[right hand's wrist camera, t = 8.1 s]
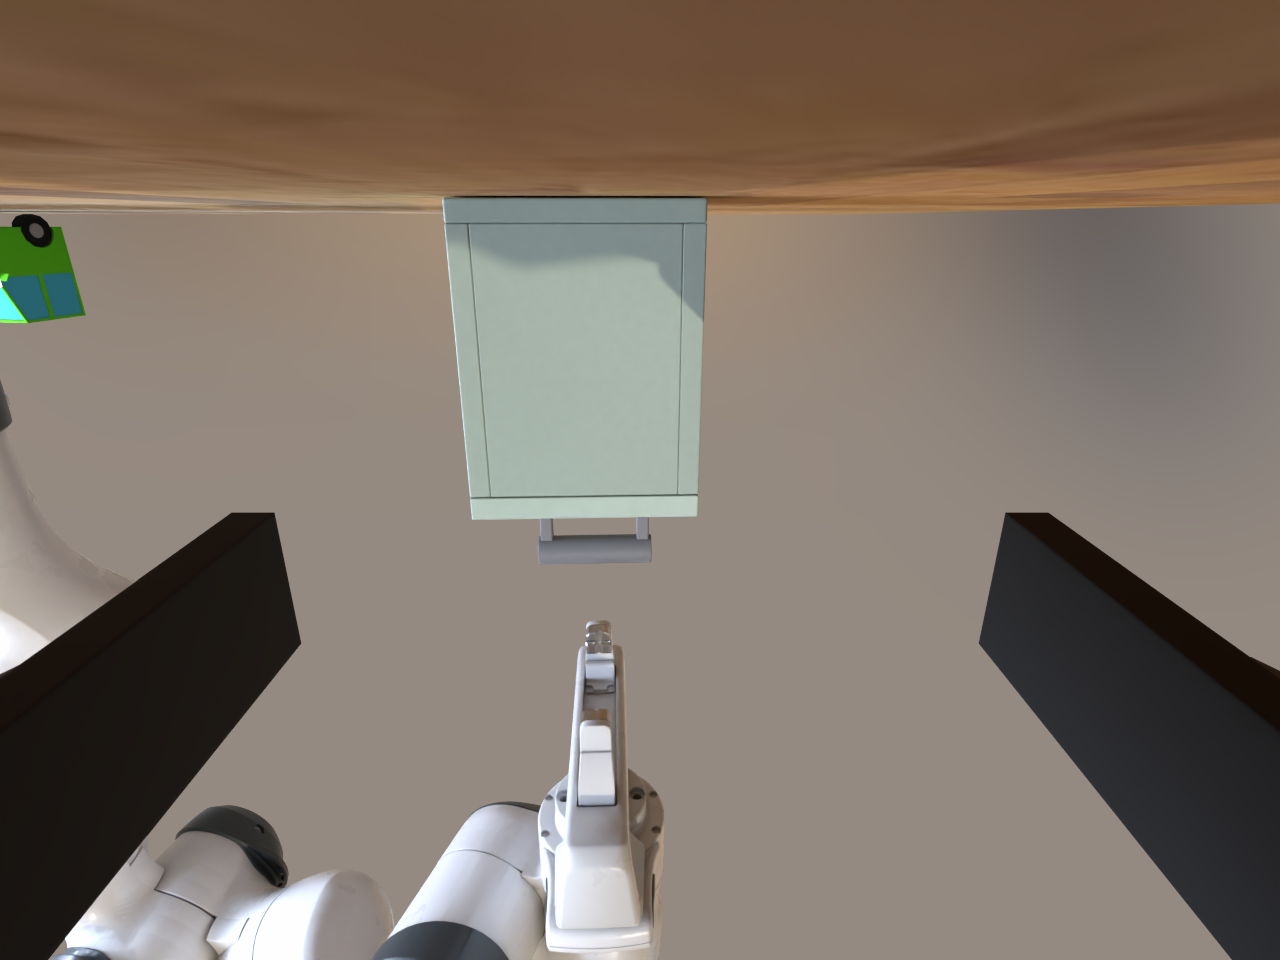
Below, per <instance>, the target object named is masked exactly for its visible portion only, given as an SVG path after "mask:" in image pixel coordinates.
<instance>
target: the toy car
mask: <svg viewBox="0 0 1280 960" xmlns="http://www.w3.org/2000/svg"><path fill="white" fill-rule="evenodd" d="M0 282H1V285H2V287H0V322H8V323H32V322H40V321H47V320H54V319H61V318H69V317H76V316H83V315H85V311H84V307H83V304H82V300H81V297H80V293H79V289H78V286H77V282H76V279H75V275H74V272H73V268H72V264H71V261H70V257H69V254H68V250H67V247H66V243H65V240H64V236H63V233H62V229H61V227H49V225H48V223H47V222H46V221H45V220H44V219H42V218H41V217H40V216H36V215H33V214H22V215H19V216H16V217H15V219H14V220H13V222H12V227H0Z"/></svg>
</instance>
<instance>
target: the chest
mask: <svg viewBox="0 0 1280 960" xmlns="http://www.w3.org/2000/svg"><path fill="white" fill-rule="evenodd" d="M442 203H443V214H444V221H445V223H446V224H445V225H444V226H445V237H446V247H447V258H448V268H449V279H450V289H451V300H452V311H453V321H454V332H455V342H456V353H457V363H458V374H459V384H460V395H461V406H462V416H463V427H464V437H465V448H466V458H467V469H468V479H469V490H470V496H471V497H490V496H491V497H518V496H588V495H658V494H698V485H699V454H700V424H701V392H702V361H703V331H704V300H705V269H706V239H707V224H706V221H707V203H708V201H707V199H706V198H443V200H442Z"/></svg>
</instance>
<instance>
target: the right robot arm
mask: <svg viewBox="0 0 1280 960" xmlns="http://www.w3.org/2000/svg"><path fill="white" fill-rule="evenodd" d="M300 644H301V640H300V635H299V630H298V626H297V621H296V616H295V611H294V606H293V601H292V597H291V592H290V587H289V582H288V577H287V572H286V567H285V562H284V557H283V553H282V547H281V543H280V538H279V533H278V528H277V523H276V518H275V514H274V513H231V514H229V515H228V516H226V517H225V518H224V519H222V520H221V521H219V522H218V523H217V524H215V525H214V526H212V527H211V528H210V529H208V530H207V531H205V532H204V533H203V534H201V535H200V536H198V537H197V538H196V539H194V540H193V541H192V542H190V543H189V544H187V545H186V546H184V547H183V548H182V549H180V550H179V551H178V552H176V553H175V554H173V555H172V556H171V557H169V558H168V559H166V560H165V561H164V562H162V563H161V564H159V565H158V566H157V567H155V568H154V569H152V570H151V571H150V572H148V573H147V574H145V575H144V576H143V577H141V578H140V579H138V580H137V581H136V582H134V583H133V584H131V585H130V586H129V587H127V588H126V589H124V590H123V591H122V592H120V593H119V594H118V595H116V596H115V597H113V598H112V599H111V600H109V601H108V602H106V603H105V604H104V605H102V606H101V607H99V608H98V609H97V610H95V611H94V612H92V613H91V614H90V615H88V616H87V617H85V618H84V619H83V620H81V621H80V622H78V623H77V624H76V625H74V626H73V627H71V628H70V629H69V630H67V631H66V632H64V633H63V634H62V635H60V636H59V637H57V638H56V639H55V640H53V641H52V642H51V643H49V644H48V645H46V646H45V647H44V648H42V649H41V650H39V651H38V652H37V653H35V654H34V655H32V656H31V657H30V658H28V659H27V660H25V661H24V662H23V663H21V664H20V665H18V666H16V667H14V668H12V669H10V670H7V671H5V672H3V673H1V674H0V960H48V959H49V958H50V957H51V955H52V954H53V953H54V952H55V950H56V949H57V948H58V947H59V945H60V944H61V943H62V942H63V940H64V939H65V938H66V937H67V935H68V934H69V933H70V932H71V930H72V929H73V928H74V927H75V925H76V924H77V923H78V922H79V920H80V919H81V918H82V917H83V915H84V914H85V913H86V912H87V910H88V909H89V908H90V907H91V905H92V904H93V903H94V902H95V900H96V899H97V898H98V897H99V895H100V894H101V893H102V892H103V890H104V889H105V888H106V887H107V885H108V884H109V883H110V882H111V880H112V879H113V878H114V877H115V875H116V874H117V873H118V872H119V870H120V869H121V868H122V867H123V865H124V864H125V863H126V862H127V860H128V859H129V858H130V857H131V855H132V854H133V853H134V852H135V850H136V849H137V848H138V847H139V845H140V844H141V843H142V842H143V840H144V839H145V838H146V837H147V835H148V834H149V833H150V832H151V830H152V829H153V828H154V827H155V825H156V824H157V823H158V822H159V820H160V819H161V818H162V817H163V815H164V814H165V813H166V812H167V810H168V809H169V808H170V807H171V805H172V804H173V803H174V802H175V800H176V799H177V798H178V797H179V795H180V794H181V793H182V792H183V790H184V789H185V788H186V787H187V785H188V784H189V783H190V782H191V780H192V779H193V778H194V777H195V775H196V774H197V773H198V772H199V770H200V769H201V768H202V767H203V765H204V764H205V763H206V762H207V760H208V759H209V758H210V757H211V755H212V754H213V753H214V752H215V750H216V749H217V748H218V747H219V745H220V744H221V743H222V742H223V740H224V739H225V738H226V737H227V735H228V734H229V733H230V732H231V730H232V729H233V728H234V727H235V725H236V724H237V723H238V722H239V720H240V719H241V718H242V717H243V715H244V714H245V713H246V712H247V710H248V709H249V708H250V707H251V705H252V704H253V703H254V702H255V700H256V699H257V698H258V697H259V695H260V694H261V693H262V692H263V690H264V689H265V688H266V687H267V685H268V684H269V683H270V682H271V680H272V679H273V678H274V677H275V675H276V674H277V673H278V672H279V670H280V669H281V668H282V667H283V665H284V664H285V663H286V662H287V660H288V659H289V658H290V657H291V655H292V654H293V653H294V652H295V650H296V649H297V648H298V647H299V646H300ZM979 644H980V646H981V647H982V648H983V649H984V651H985V652H986V653H987V654H988V655H989V657H990V658H991V659H992V660H993V662H994V663H995V664H996V665H997V667H998V668H999V669H1000V670H1001V672H1002V673H1003V674H1004V675H1005V677H1006V678H1007V679H1008V680H1009V682H1010V683H1011V684H1012V685H1013V687H1014V688H1015V689H1016V690H1017V692H1018V693H1019V694H1020V695H1021V697H1022V698H1023V699H1024V700H1025V702H1026V703H1027V704H1028V705H1029V707H1030V708H1031V709H1032V710H1033V712H1034V713H1035V714H1036V715H1037V717H1038V718H1039V719H1040V720H1041V722H1042V723H1043V724H1044V725H1045V727H1046V728H1047V729H1048V730H1049V732H1050V733H1051V734H1052V735H1053V737H1054V738H1055V739H1056V740H1057V742H1058V743H1059V744H1060V745H1061V747H1062V748H1063V749H1064V750H1065V752H1066V753H1067V754H1068V755H1069V757H1070V758H1071V759H1072V760H1073V762H1074V763H1075V764H1076V765H1077V767H1078V768H1079V769H1080V770H1081V772H1082V773H1083V774H1084V775H1085V777H1086V778H1087V779H1088V780H1089V782H1090V783H1091V784H1092V785H1093V787H1094V788H1095V789H1096V790H1097V792H1098V793H1099V794H1100V795H1101V797H1102V798H1103V799H1104V800H1105V802H1106V803H1107V804H1108V805H1109V807H1110V808H1111V809H1112V810H1113V812H1114V813H1115V814H1116V815H1117V817H1118V818H1119V819H1120V820H1121V822H1122V823H1123V824H1124V825H1125V827H1126V828H1127V829H1128V830H1129V832H1130V833H1131V834H1132V835H1133V837H1134V838H1135V839H1136V840H1137V842H1138V843H1139V844H1140V845H1141V847H1142V848H1143V849H1144V850H1145V852H1146V853H1147V854H1148V855H1149V857H1150V858H1151V859H1152V860H1153V862H1154V863H1155V864H1156V865H1157V867H1158V868H1159V869H1160V870H1161V872H1162V873H1163V874H1164V875H1165V877H1166V878H1167V879H1168V880H1169V882H1170V883H1171V884H1172V885H1173V887H1174V888H1175V889H1176V890H1177V891H1178V893H1179V894H1180V895H1181V897H1182V898H1183V899H1184V900H1185V902H1186V903H1187V904H1188V905H1189V907H1190V908H1191V909H1192V910H1193V912H1194V913H1195V914H1196V915H1197V917H1198V918H1199V919H1200V920H1201V922H1202V923H1203V924H1204V925H1205V927H1206V928H1207V929H1208V930H1209V932H1210V933H1211V934H1212V935H1213V937H1214V938H1215V939H1216V940H1217V942H1218V943H1219V944H1220V945H1221V947H1222V948H1223V949H1224V950H1225V952H1226V953H1227V954H1228V955H1229V956H1230V958H1231V959H1232V960H1280V671H1279V670H1277V669H1275V668H1273V667H1271V666H1268V665H1266V664H1264V663H1262V662H1260V661H1258V660H1256V659H1254V658H1252V657H1249V656H1248V655H1246V654H1245V653H1243V652H1242V651H1241V650H1239V649H1238V648H1236V647H1235V646H1234V645H1232V644H1231V643H1229V642H1228V641H1227V640H1225V639H1224V638H1222V637H1221V636H1220V635H1218V634H1217V633H1216V632H1214V631H1213V630H1211V629H1210V628H1209V627H1207V626H1206V625H1204V624H1203V623H1202V622H1200V621H1199V620H1197V619H1196V618H1195V617H1193V616H1192V615H1190V614H1189V613H1188V612H1186V611H1185V610H1183V609H1182V608H1181V607H1179V606H1178V605H1176V604H1175V603H1174V602H1172V601H1171V600H1169V599H1168V598H1167V597H1165V596H1164V595H1162V594H1161V593H1160V592H1158V591H1157V590H1156V589H1154V588H1153V587H1151V586H1150V585H1148V584H1147V583H1146V582H1144V581H1143V580H1142V579H1140V578H1139V577H1137V576H1136V575H1135V574H1133V573H1132V572H1130V571H1129V570H1128V569H1126V568H1125V567H1123V566H1122V565H1121V564H1119V563H1118V562H1116V561H1115V560H1114V559H1112V558H1111V557H1109V556H1108V555H1107V554H1105V553H1104V552H1102V551H1101V550H1100V549H1098V548H1097V547H1096V546H1094V545H1093V544H1091V543H1090V542H1089V541H1087V540H1086V539H1084V538H1083V537H1082V536H1080V535H1079V534H1077V533H1076V532H1075V531H1073V530H1072V529H1070V528H1069V527H1068V526H1066V525H1065V524H1063V523H1062V522H1060V521H1059V520H1058V519H1056V518H1055V517H1054V516H1052V515H1051V514H1049V513H1006V514H1005V518H1004V523H1003V528H1002V533H1001V538H1000V543H999V547H998V552H997V557H996V562H995V567H994V572H993V577H992V582H991V587H990V591H989V596H988V601H987V606H986V611H985V616H984V621H983V626H982V630H981V635H980V640H979Z"/></svg>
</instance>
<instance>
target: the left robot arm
mask: <svg viewBox="0 0 1280 960" xmlns="http://www.w3.org/2000/svg"><path fill="white" fill-rule="evenodd" d="M0 287H2V285H1V282H0ZM8 405H10V403H9V400H8V396H7V394H6V393H4V390H3V387H2V384H1V381H0V674H1V673H3V672H5V671H7V670H10V669H12V668H14V667H16V666H18V665H20V664H21V663H23V662H24V661H25V660H27V659H28V658H30V657H31V656H32V655H34V654H35V653H37V652H38V651H39V650H41V649H42V648H44V647H45V646H46V645H48V644H49V643H51V642H52V641H53V640H55V639H56V638H57V637H59V636H60V635H62V634H63V633H64V632H66V631H67V630H69V629H70V628H71V627H73V626H74V625H76V624H77V623H78V622H80V621H81V620H83V619H84V618H85V617H87V616H88V615H90V614H91V613H92V612H94V611H95V610H97V609H98V608H99V607H101V606H102V605H104V604H105V603H106V602H108V601H109V600H111V599H112V598H113V597H115V596H116V595H118V594H119V593H120V592H122V591H123V590H124V589H126V588H127V587H129V586H130V585H131V584H133V583H134V582H136V581H137V580H138V579H135V578H131V577H127V576H124V575H121V574H119V573H116V572H113V571H111V570H109V569H106V568H104V567H102V566H100V565H98V564H96V563H94V562H93V561H91V560H89V559H88V558H86V557H84V556H83V555H82V554H80V553H79V552H77V551H76V550H75V549H73V548H72V547H71V546H70V545H68V544H67V543H66V542H65V541H64V540H63V539H62V538H61V537H60V536H59V535H58V534H57V533H56V532H55V530H54V529H53V528H52V527H51V525H50V524H49V523H48V521H47V520H46V518H45V517H44V515H43V513H42V511H41V510H40V508H39V506H38V503H37V501H36V499H35V497H34V495H33V493H32V491H31V489H30V487H29V484H28V482H27V480H26V478H25V475H24V473H23V470H22V468H21V465H20V463H19V460H18V458H17V455H16V452H15V450H14V447H13V444H12V441H11V438H10V435H9V432H8V430H7V427H8V426H9V425H10V424H11V422H12V418H11V414H10V410H9V407H8ZM663 860H664V809H663V805H662V802H661V800H660V797H659V795H658V794H657V792H656V791H655V790H654V788H653V787H652V786H651V785H650V784H649V783H648V782H647V781H645V780H644V779H642V778H641V777H639V776H638V775H637V774H636V773H635V772H633V771H632V770H630V769H629V768H628V764H627V730H626V696H625V660H624V652H623V649H622V647H621V646H619V645H613V644H612V626H611V623H610V622H608V621H590V622H588V624H587V626H586V646H583V647H581V648H580V650H579V653H578V661H577V674H576V687H575V699H574V712H573V725H572V738H571V751H570V763H569V774H568V775H567V776H566V777H565V778H564V779H563V780H562V781H560V782H559V783H558V784H557V785H555V786H554V787H553V788H552V789H551V791H550V792H549V793H548V794H547V796H546V797H545V799H544V801H543V803H542V805H541V806H539V805H534V804H529V803H522V802H498V803H492V804H489V805H486V806H483V807H481V808H479V809H477V810H476V811H474V812H473V813H472V814H471V815H470V816H469V818H468V819H467V821H466V822H465V824H464V825H463V826H462V828H461V829H460V831H459V832H458V834H457V835H456V836H455V838H454V839H453V841H452V842H451V844H450V845H449V847H448V848H447V850H446V851H445V853H444V854H443V856H442V857H441V859H440V860H439V862H438V864H437V865H436V867H435V868H434V870H433V871H432V873H431V874H430V876H429V878H428V879H427V880H426V882H425V883H424V885H423V886H422V888H421V889H420V891H419V892H418V894H417V895H416V897H415V898H414V900H413V901H412V903H411V904H410V906H409V907H408V909H407V910H406V912H405V913H404V915H403V916H402V918H401V919H400V921H399V922H398V924H397V925H396V927H395V928H394V920H393V915H392V910H391V907H390V904H389V901H388V899H387V897H386V895H385V893H384V891H383V890H382V888H381V887H380V886H379V885H378V884H377V883H376V882H375V881H374V880H373V879H372V878H370V877H369V876H368V875H366V874H364V873H362V872H360V871H357V870H351V869H335V870H329V871H325V872H321V873H318V874H315V875H313V876H310V877H308V878H305V879H303V880H300V881H298V882H296V883H294V884H291V885H289V886H287V887H285V886H286V884H287V880H288V869H287V866H286V864H285V862H284V861H283V851H282V847H281V844H280V841H279V839H278V836H277V834H276V832H275V830H274V829H273V827H272V826H271V825H270V824H269V823H268V822H267V821H266V820H265V819H263V818H262V817H260V816H259V815H257V814H255V813H254V812H252V811H250V810H247V809H244V808H241V807H237V806H232V805H225V806H216V807H210V808H207V809H206V810H204V811H203V812H201V813H200V814H199V815H197V816H196V817H195V818H194V819H192V820H191V821H190V822H189V823H188V824H187V825H186V826H185V827H184V828H183V829H182V830H181V831H179V832H178V834H177V835H176V839H175V841H174V842H173V843H172V844H171V845H170V846H169V847H168V848H167V849H166V850H165V851H164V852H163V853H162V854H161V855H160V857H159V858H158V859H157V860H156V861H154V860H153V859H152V857H151V856H150V855H149V854H148V839H147V837H146V838H145V839H144V840H143V842H142V843H141V844H140V845H139V847H138V848H137V849H136V850H135V852H134V853H133V854H132V855H131V857H130V858H129V859H128V860H127V862H126V863H125V864H124V865H123V867H122V868H121V869H120V870H119V872H118V873H117V874H116V875H115V877H114V878H113V879H112V880H111V882H110V883H109V884H108V885H107V887H106V888H105V889H104V890H103V892H102V893H101V894H100V895H99V897H98V898H97V899H96V900H95V902H94V903H93V904H92V905H91V907H90V908H89V909H88V910H87V912H86V913H85V914H84V915H83V917H82V918H81V919H80V920H79V922H78V923H77V924H76V925H75V927H74V928H73V929H72V930H71V932H70V933H69V934H68V935H67V937H66V938H65V939H66V942H67V947H68V948H67V949H66V950H65V954H61V955H57V956H54V957H53V958H51V959H50V960H659V956H660V948H661V938H662V921H663V903H662V896H661V892H660V888H659V887H660V884H661V880H662V875H663V865H664V864H663ZM284 887H285V888H284Z"/></svg>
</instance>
